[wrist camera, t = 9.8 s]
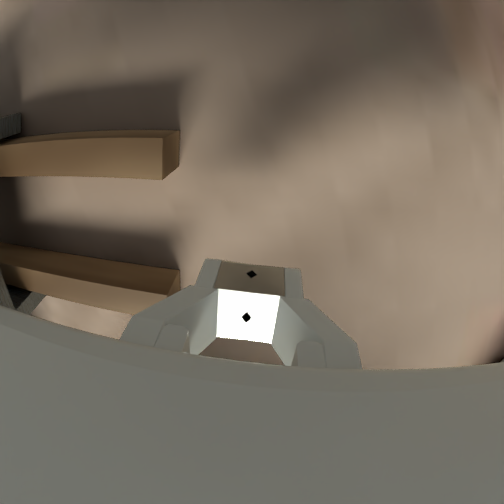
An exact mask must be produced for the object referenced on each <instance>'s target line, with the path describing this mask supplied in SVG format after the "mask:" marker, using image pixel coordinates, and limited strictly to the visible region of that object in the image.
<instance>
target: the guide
mask: <svg viewBox="0 0 504 504" xmlns="http://www.w3.org/2000/svg"><path fill="white" fill-rule="evenodd" d="M179 140H180V131H178V130H106V131H84V132H69V133H56V134H46V135H36V136H27V137H20V138H12V139H5V140H0V177H14V176H82V177H114V178H136V179H153V180H163V179H164V178H165V177H166V176H168V175H169V174H170V173H171V172H173V171H174V170H175V169H176V168H177V167H179ZM0 270H1V273H2V276H3V279H4V282H5V284H8V285H12V286H15V287H19V288H22V289H26V290H29V291H33V292H37V293H40V294H44V295H48V296H52V297H56V298H60V299H64V300H68V301H72V302H76V303H80V304H85V305H89V306H94V307H98V308H103V309H107V310H112V311H117V312H122V313H127V314H132V315H135V314H137V313H139V312H141V311H143V310H145V309H147V308H148V307H150V306H152V305H154V304H156V303H158V302H160V301H162V300H163V299H165V298H167V297H169V296H171V295H173V294H175V293H177V292H179V291H180V272H179V270H174V269H166V268H159V267H152V266H145V265H138V264H131V263H124V262H118V261H111V260H104V259H98V258H91V257H85V256H79V255H73V254H66V253H60V252H54V251H48V250H42V249H36V248H31V247H25V246H19V245H14V244H8V243H2V242H0Z"/></svg>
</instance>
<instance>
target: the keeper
mask: <svg viewBox="0 0 504 504" xmlns="http://www.w3.org/2000/svg"><path fill="white" fill-rule="evenodd" d="M20 132H21V113H18V114H14V115H9V116H4V117H0V139H2V138H5V137H8V136H11V135H14V134H17V133H20ZM45 296H46V295H44V294H40V293H37V292H33V291H29V290H26V289H22V288H19V287H15V286H12V285H8V284H5V282H4V279H3V276H2V273H1V270H0V305H2V306H5V307H8V308H11V309H13V310H16V311H19V312H22V313H25V314H28V315H30V314H31V312H32V311H33V310H34V309H35V308H36V306H37V305H38V304H39V303H40V302H41V301H42V299H43V298H44V297H45Z"/></svg>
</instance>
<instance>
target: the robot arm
mask: <svg viewBox="0 0 504 504" xmlns="http://www.w3.org/2000/svg"><path fill="white" fill-rule="evenodd" d="M217 337H225V338H235V339H244V340H251V341H259V342H266V343H271V345H272V347H273V348H274V350H275V351H276V353H277V354H278V356H279V357H280V359H281V360H282V362H283V363H284V365H273V364H263V363H254V362H245V361H237V360H229V359H222V358H215V357H208V356H201V355H198V354H200V353H201V352H202V351H203V350H204V349H205V348H206V347H207V346H208V345H210V344H211V343H212V342H213V341H214V340H215V339H216V338H217ZM0 504H504V362H500V363H492V364H483V365H473V366H462V367H448V368H430V369H398V370H364V369H362V365H361V361H360V356H359V352H358V348H357V344H356V342H354V341H353V340H352V339H351V338H350V337H349V336H348V335H347V334H346V333H345V332H344V331H342V330H341V329H340V328H339V327H338V326H337V325H336V324H335V323H334V322H333V321H332V320H330V319H329V318H328V317H327V316H326V315H325V314H324V313H323V312H322V311H321V310H319V309H318V308H317V307H316V306H315V305H314V304H313V303H312V302H311V301H310V300H309V299H304V296H303V287H302V278H301V270H300V269H297V268H284V267H273V266H262V265H253V264H247V263H240V262H232V261H225V260H219V259H209V258H207V259H205V261H204V263H203V266H202V268H201V271H200V273H199V276H198V278H197V281H196V284H195V286H192V285H190V286H188V287H186V288H184V289H182V290H180V291H179V292H177V293H175V294H173V295H171V296H169V297H167V298H165V299H163V300H162V301H160V302H158V303H156V304H154V305H152V306H150V307H148V308H147V309H145V310H143V311H141V312H139V313H137V314H135V315H133V316H132V318H131V319H130V321H129V323H128V325H127V327H126V328H125V330H124V332H123V334H122V336H121V338H120V339H119V340H118V339H114V338H110V337H106V336H101V335H97V334H93V333H90V332H86V331H82V330H78V329H75V328H71V327H67V326H64V325H61V324H57V323H54V322H50V321H47V320H44V319H41V318H37V317H34V316H31V315H28V314H25V313H22V312H19V311H16V310H13V309H11V308H8V307H5V306H2V305H0Z"/></svg>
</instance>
